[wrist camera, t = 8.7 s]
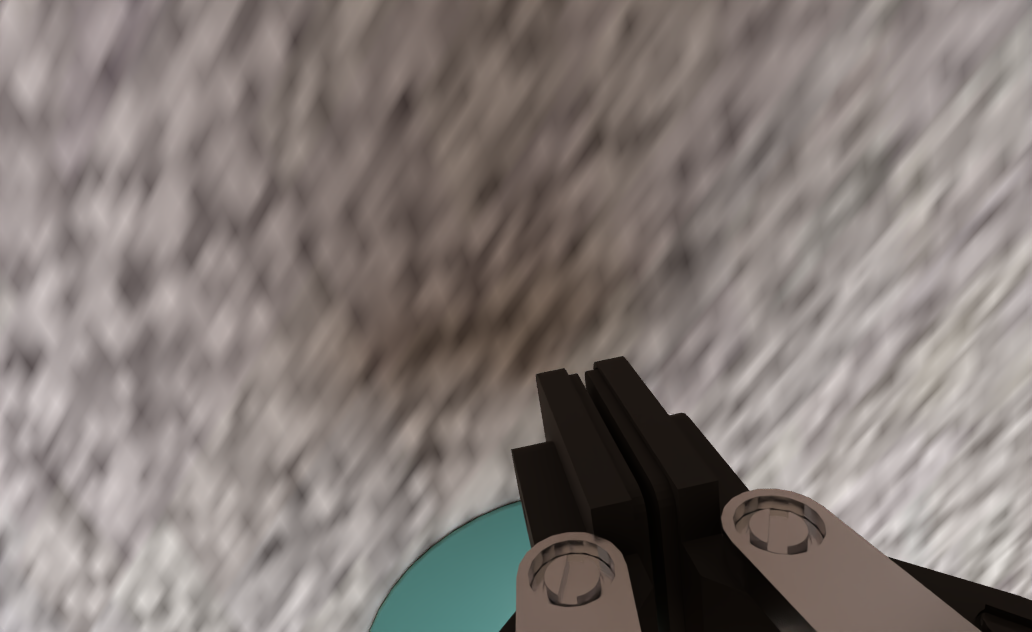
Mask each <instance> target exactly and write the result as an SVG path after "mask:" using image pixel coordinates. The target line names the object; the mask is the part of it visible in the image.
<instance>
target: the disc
mask: <svg viewBox="0 0 1032 632" xmlns="http://www.w3.org/2000/svg"><path fill="white" fill-rule="evenodd" d="M530 549H531V545H530V541H529V537H528V532H527V528H526V523H525V518H524V514H523V509H522V504H521V501H519V502H516V503H513V504H510V505H506V506H504V507H501V508H499V509H497V510H494V511H492V512H490V513H487V514H485V515H483V516H480V517H478V518H476V519H475V520H473V521H471V522H469V523H468V524H466V525H464V526H462V527H460V528H459V529H457V530H455V531H453V532H452V533H451V534H449V535H448V536H447V537H445V538H444V539H442V540H441V541H440V542H438V543H437V544H436V545H434V546H433V547H431V548H430V549H429V550H428V551H427V552H426V553H425V554H424V555H423V556H422V557H421V558H419V559H418V560H417V561H416V562H415V563H414V564H413V565H412V566H411V567H410V568H409V569H408V570H407V572H406V573H405V574H404V575H403V576H402V577H401V579H400V580H399V581H398V582H397V583H396V585H395V586H394V587H393V588H392V590H391V592H390V593H389V595H388V596H387V598H386V599H385V601H384V603H383V604H382V606H381V607H380V609H379V611H378V613H377V616H376V618H375V620H374V622H373V624H372V627H371V629H370V631H369V632H499V631H500V630H501V628H502V627H503V626H504V625H505V623H506V622H507V621H508V620H509V619H510V617H511V616H512V615H513V614H514V612H515V611H516V577H517V572H518V567H519V564H520V562H521V561H522V559H523V557H524V556H525V554H526V553H527V552H528V551H529V550H530Z"/></svg>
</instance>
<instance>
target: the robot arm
mask: <svg viewBox="0 0 1032 632" xmlns="http://www.w3.org/2000/svg"><path fill="white" fill-rule="evenodd" d="M593 369H594V370H590V371H586V372H585V383H586V388H585V386H584V385H583V383H582V381H581V379H580V377H579V375H578V374H577V373H576V374H571V375H568V373H567V371H566V370H565V368H563V369H558V370H553V371H548V372H544V373H539V374H536V382H537V388H538V394H539V401H540V407H541V413H542V419H543V425H544V431H545V437H546V442H544V443H539V444H534V445H530V446H525V447H521V448H516V449H511V451H512V457H513V463H514V468H515V473H516V479H517V484H518V489H519V494H520V499H521V504H522V509H523V514H524V518H525V523H526V528H527V532H528V537H529V541H530V545H531V549H530V550H529V551H528V552H527V553H526V554H525V556H524V557H523V559H522V561H521V562H520V564H519V567H518V572H517V577H516V611H515V612H514V614H513V615H512V616H511V617H510V619H509V620H508V621H507V622H506V623H505V625H504V626H503V627H502V628H501V630H500V631H499V632H1032V600H1029V599H1026V598H1024V597H1021V596H1018V595H1015V594H1011V593H1008V592H1005V591H1001V590H998V589H995V588H991V587H988V586H984V585H981V584H978V583H974V582H971V581H968V580H964V579H961V578H957V577H954V576H951V575H947V574H944V573H941V572H937V571H934V570H931V569H927V568H924V567H920V566H917V565H914V564H910V563H907V562H904V561H900V560H897V559H893V558H890V557H887V556H886V555H884V554H883V553H882V552H880V551H879V550H878V549H877V548H875V547H874V546H873V545H872V544H870V543H869V542H868V541H867V540H865V539H864V538H863V537H862V536H860V535H859V534H858V533H856V532H855V531H854V530H853V529H851V528H850V527H849V526H848V525H846V524H845V523H844V522H843V521H841V520H840V519H839V518H838V517H836V516H835V515H834V514H833V513H831V512H830V511H829V510H827V509H826V508H825V507H824V506H822V505H820V504H819V503H817V502H816V501H814V500H812V499H811V498H809V497H806V496H804V495H801V494H798V493H795V492H792V491H787V490H781V489H756V490H751V491H749V490H748V488H747V487H746V486H745V485H744V483H743V482H742V481H741V480H740V479H739V477H738V476H737V475H736V474H735V473H734V471H733V470H732V469H731V468H730V466H729V465H728V464H727V463H726V462H725V460H724V459H723V458H722V457H721V456H720V454H719V453H718V452H717V451H716V449H715V448H714V447H713V446H712V445H711V443H710V442H709V441H708V440H707V439H706V437H705V436H704V435H703V434H702V432H701V431H700V430H699V429H698V428H697V426H696V425H695V424H694V423H693V422H692V420H691V419H690V418H689V417H688V416H687V415H686V414H685V413H678V414H674V415H668V414H667V412H666V411H665V410H664V408H663V407H662V406H661V404H660V403H659V402H658V400H657V399H656V398H655V397H654V395H653V394H652V393H651V391H650V390H649V389H648V387H647V386H646V385H645V383H644V382H643V381H642V380H641V378H640V377H639V376H638V374H637V373H636V372H635V370H634V369H633V368H632V366H631V365H630V364H629V362H628V361H627V360H626V359H625V357H623V356H621V357H616V358H611V359H607V360H602V361H597V362H594V367H593Z"/></svg>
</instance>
